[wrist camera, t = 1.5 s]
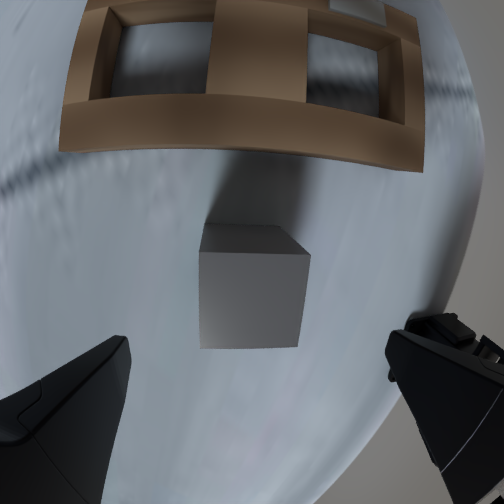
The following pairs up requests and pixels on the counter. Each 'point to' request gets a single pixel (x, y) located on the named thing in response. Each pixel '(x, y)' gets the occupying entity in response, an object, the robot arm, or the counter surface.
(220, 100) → the socket bar
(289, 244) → the plug
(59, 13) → the counter surface
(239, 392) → the counter surface
